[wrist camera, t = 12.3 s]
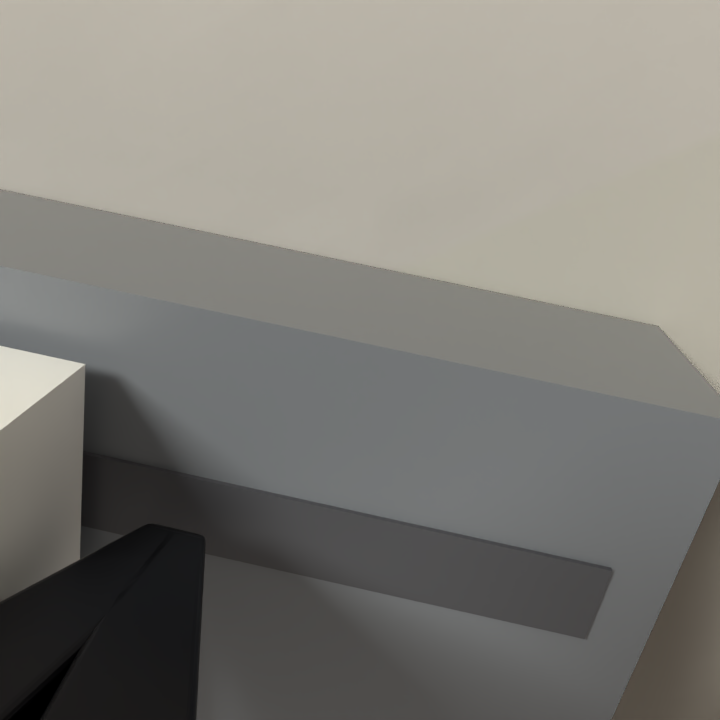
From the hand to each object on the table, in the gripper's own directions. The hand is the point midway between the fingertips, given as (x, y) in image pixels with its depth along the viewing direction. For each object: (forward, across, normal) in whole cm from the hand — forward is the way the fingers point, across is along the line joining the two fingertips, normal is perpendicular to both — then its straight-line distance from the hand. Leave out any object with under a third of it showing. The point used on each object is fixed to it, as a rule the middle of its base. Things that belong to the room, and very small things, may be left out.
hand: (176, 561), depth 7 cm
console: (+4, 0, +6) cm, 7 cm away
